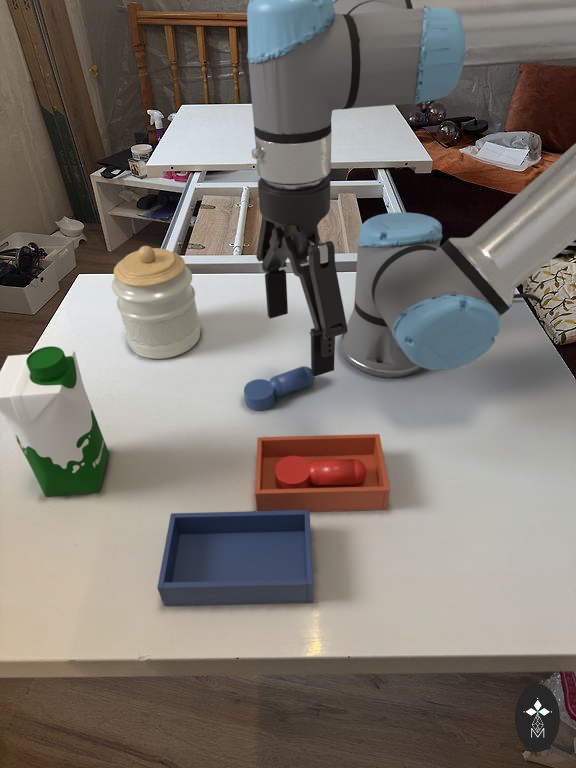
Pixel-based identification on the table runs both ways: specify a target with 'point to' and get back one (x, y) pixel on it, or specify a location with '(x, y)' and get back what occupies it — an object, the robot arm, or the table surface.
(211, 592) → the bin blue
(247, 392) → the blue toy rattle
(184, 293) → the jar
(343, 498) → the bin red
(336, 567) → the table surface
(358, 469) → the red disc-headed bar
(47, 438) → the milk carton
